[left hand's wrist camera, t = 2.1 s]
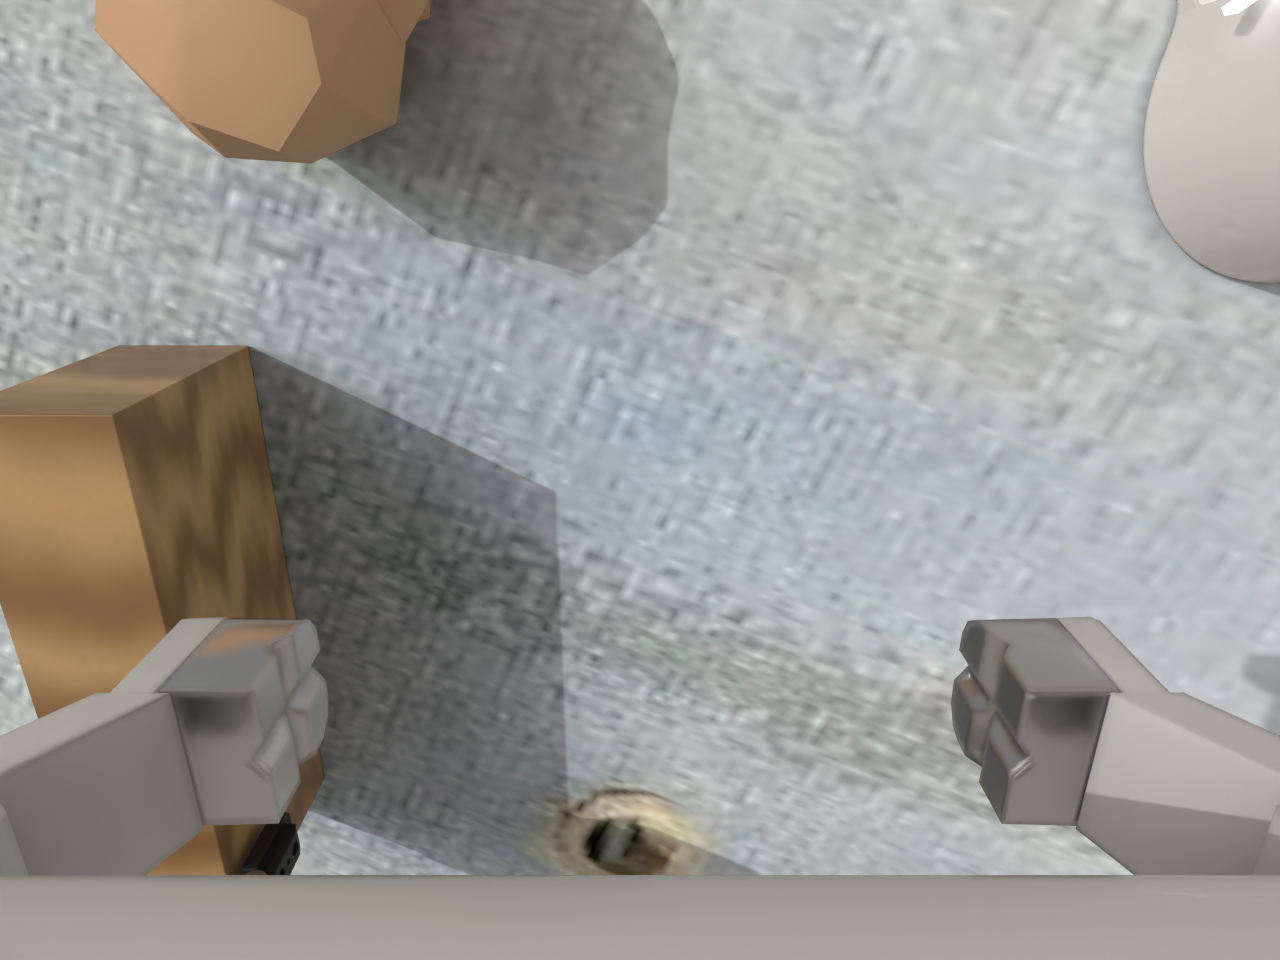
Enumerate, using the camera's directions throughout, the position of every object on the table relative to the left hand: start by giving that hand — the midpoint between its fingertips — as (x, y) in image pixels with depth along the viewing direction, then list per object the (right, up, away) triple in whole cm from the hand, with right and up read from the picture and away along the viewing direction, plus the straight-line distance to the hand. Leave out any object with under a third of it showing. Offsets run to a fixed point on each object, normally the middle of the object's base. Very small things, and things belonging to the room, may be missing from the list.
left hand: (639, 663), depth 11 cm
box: (-21, -3, +33) cm, 39 cm away
